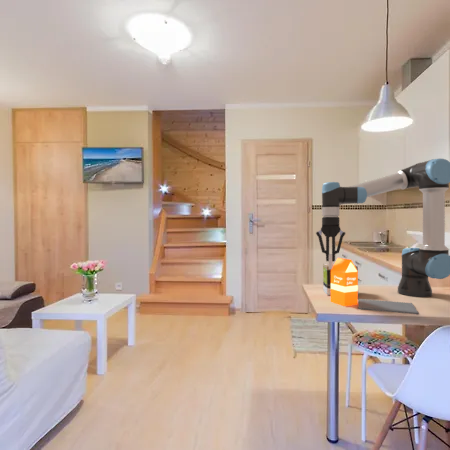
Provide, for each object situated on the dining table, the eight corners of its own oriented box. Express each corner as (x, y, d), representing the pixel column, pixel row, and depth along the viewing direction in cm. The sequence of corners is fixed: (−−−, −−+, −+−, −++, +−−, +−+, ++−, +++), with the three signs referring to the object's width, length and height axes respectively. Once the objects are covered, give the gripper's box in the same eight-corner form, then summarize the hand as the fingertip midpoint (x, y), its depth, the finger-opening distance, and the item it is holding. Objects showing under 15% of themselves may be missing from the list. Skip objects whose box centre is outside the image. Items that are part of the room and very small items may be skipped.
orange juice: (344, 306, 145) (344, 260, 145) (330, 301, 154) (330, 258, 153) (358, 304, 149) (358, 259, 148) (343, 299, 157) (343, 257, 156)
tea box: (352, 291, 174) (352, 263, 174) (358, 296, 164) (358, 266, 164) (322, 291, 175) (323, 262, 175) (326, 295, 165) (326, 265, 165)
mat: (411, 304, 148) (411, 303, 148) (418, 314, 134) (418, 312, 134) (358, 300, 156) (358, 298, 156) (358, 308, 141) (358, 307, 141)
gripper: (346, 216, 153) (346, 268, 154) (316, 216, 158) (316, 266, 159) (345, 216, 146) (345, 270, 147) (314, 216, 151) (314, 269, 152)
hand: (330, 268), depth 153 cm, fingers closed
